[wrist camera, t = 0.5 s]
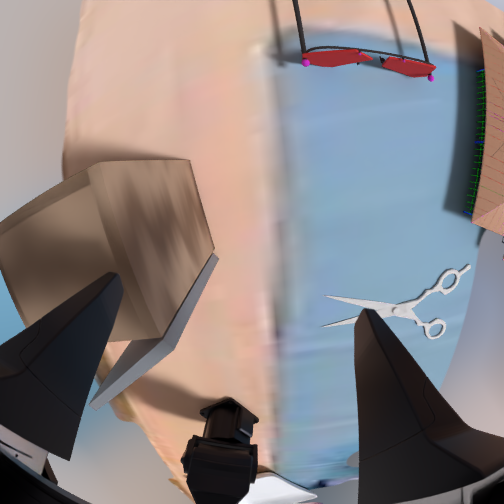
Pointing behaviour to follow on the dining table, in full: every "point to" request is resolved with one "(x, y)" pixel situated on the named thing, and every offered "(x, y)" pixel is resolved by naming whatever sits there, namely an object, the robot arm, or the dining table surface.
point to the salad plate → (275, 491)
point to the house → (491, 141)
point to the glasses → (356, 55)
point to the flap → (152, 344)
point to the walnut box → (110, 242)
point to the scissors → (405, 304)
